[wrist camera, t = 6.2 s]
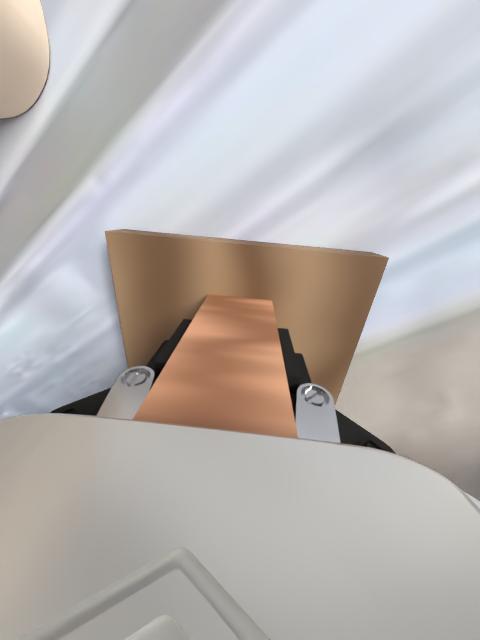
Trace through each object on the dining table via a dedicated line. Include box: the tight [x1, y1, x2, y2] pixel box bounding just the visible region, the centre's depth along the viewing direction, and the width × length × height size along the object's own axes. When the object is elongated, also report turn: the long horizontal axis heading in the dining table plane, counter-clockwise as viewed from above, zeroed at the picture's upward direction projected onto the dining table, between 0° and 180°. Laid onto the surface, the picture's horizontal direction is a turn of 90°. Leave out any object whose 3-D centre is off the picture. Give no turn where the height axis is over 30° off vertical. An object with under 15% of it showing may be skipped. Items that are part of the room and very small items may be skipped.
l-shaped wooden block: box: [133, 294, 298, 438], centre depth 13 cm, size 4×18×10 cm, turn 175°
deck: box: [105, 229, 389, 405], centre depth 22 cm, size 16×39×2 cm, turn 175°
